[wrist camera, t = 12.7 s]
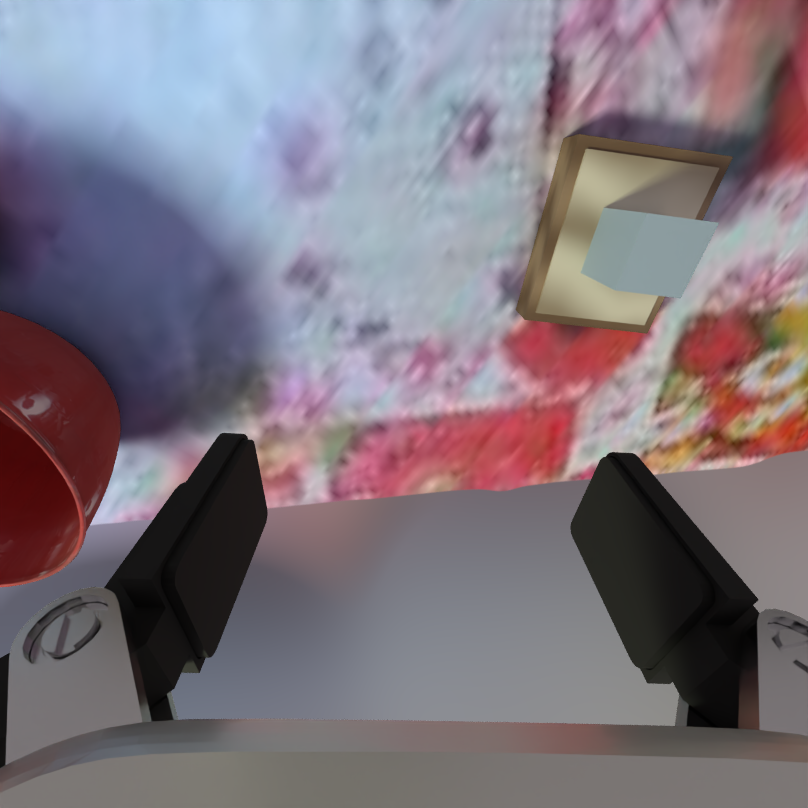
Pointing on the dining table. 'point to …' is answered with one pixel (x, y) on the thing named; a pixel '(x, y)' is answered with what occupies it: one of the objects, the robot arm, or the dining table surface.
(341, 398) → the dining table surface
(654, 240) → the block
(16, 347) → the mixing bowl
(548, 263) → the plinth
